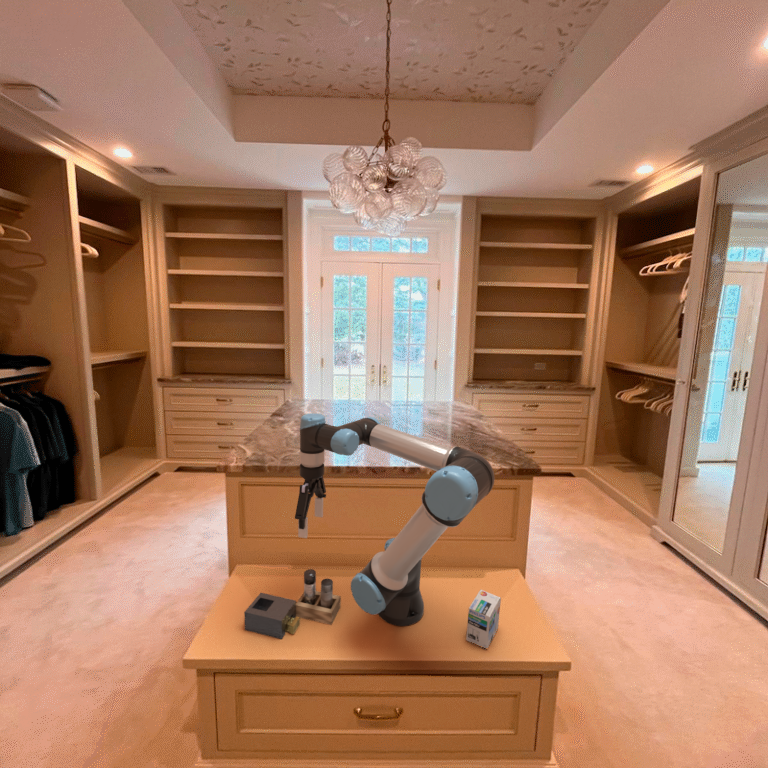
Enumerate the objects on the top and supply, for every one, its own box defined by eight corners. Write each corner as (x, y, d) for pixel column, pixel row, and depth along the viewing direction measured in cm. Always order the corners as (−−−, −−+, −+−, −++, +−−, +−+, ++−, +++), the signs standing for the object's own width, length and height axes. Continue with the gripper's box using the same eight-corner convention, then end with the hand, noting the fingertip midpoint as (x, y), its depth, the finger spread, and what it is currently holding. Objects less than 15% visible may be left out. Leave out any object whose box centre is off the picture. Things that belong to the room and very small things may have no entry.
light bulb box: (487, 651, 120) (490, 617, 118) (465, 640, 124) (467, 608, 122) (498, 628, 129) (501, 596, 127) (477, 619, 133) (480, 588, 131)
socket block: (295, 617, 130) (295, 600, 129) (281, 639, 121) (281, 620, 120) (260, 609, 133) (260, 592, 132) (244, 630, 124) (244, 611, 123)
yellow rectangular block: (299, 624, 127) (299, 617, 126) (293, 634, 123) (293, 626, 123) (266, 616, 130) (266, 609, 129) (259, 625, 126) (259, 618, 125)
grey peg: (317, 604, 135) (317, 570, 133) (312, 612, 131) (312, 577, 129) (307, 602, 136) (307, 568, 134) (302, 609, 132) (302, 574, 130)
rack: (340, 607, 135) (341, 576, 133) (331, 624, 128) (332, 592, 126) (306, 599, 138) (306, 569, 136) (295, 616, 130) (295, 584, 129)
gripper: (315, 449, 144) (314, 507, 148) (283, 476, 120) (283, 545, 124) (336, 451, 142) (334, 510, 146) (308, 479, 118) (307, 548, 122)
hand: (311, 526), depth 135 cm, fingers open, 13 cm apart
